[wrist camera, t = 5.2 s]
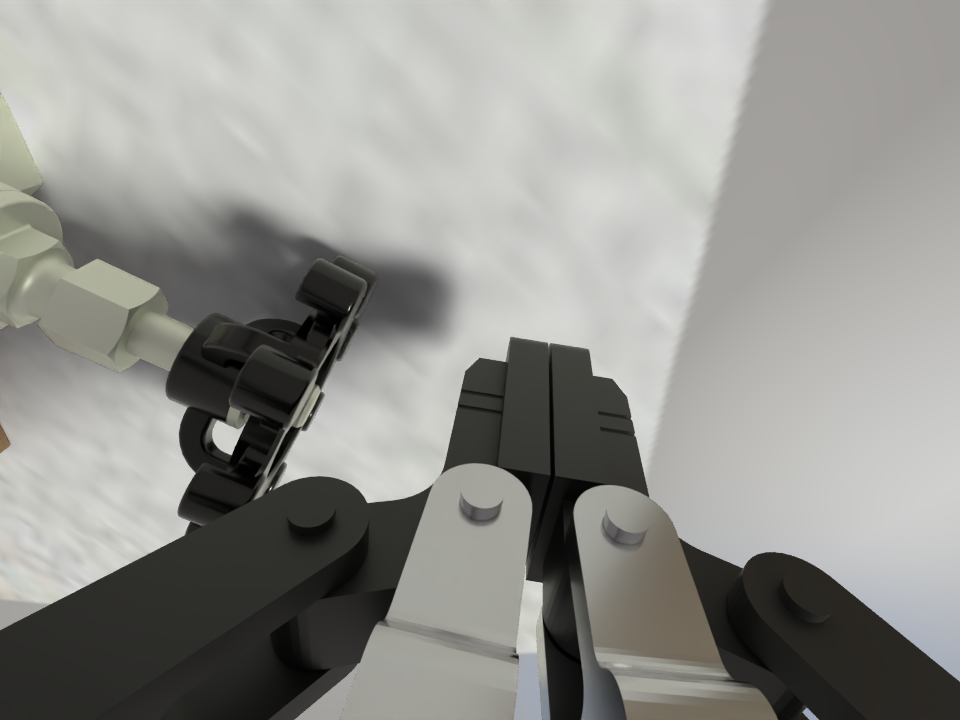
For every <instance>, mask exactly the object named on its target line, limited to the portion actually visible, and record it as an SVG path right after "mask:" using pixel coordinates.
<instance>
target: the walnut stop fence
mask: <svg viewBox="0 0 960 720" xmlns="http://www.w3.org/2000/svg"><path fill="white" fill-rule="evenodd" d="M9 446H10V443H9V441H8V439H7V437H6V435H5V433H4V431H3V429H2V427H1V425H0V453H1V452H3V451H4V450H5V449H6V448H8V447H9Z"/></svg>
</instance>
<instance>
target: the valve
mask: <svg viewBox="0 0 960 720" xmlns="http://www.w3.org/2000/svg"><path fill="white" fill-rule="evenodd" d="M42 184H43V183H42V179H41V175H40V172H39V170H38V168H37V166H36V164H35V161H34V159H33V157H32V155H31V153H30V151H29V149H28V146H27V144H26V142H25V140H24V138H23V136H22V134H21V131H20V129H19V127H18V125H17V123H16V121H15V119H14V117H13V114H12V112H11V110H10V108H9V106H8V104H7V102H6V100H5V99H4V98H3V96H2V95H1V93H0V329H2V328H4V327H6V326H8V325H10V326H12V327H15V328H20V327H22V326H25V325H28V324H30V323H33V322H35V321H37V320H39V319H41V320H40V322H39V324H38V326H39V327H40V328H41V329H42V330H43V332H44V333H45V334H46V335H47V336H48V337H49V338H50V340H51V341H52V342H53V343H54V344H55V345H56V346H58V347H61V348H63V349H65V350H68V351H70V352H72V353H75V354H77V355H79V356H81V357H84V358H86V359H88V360H91V361H93V362H95V363H98V364H100V365H102V366H104V367H107V368H109V369H111V370H114V371H116V372H118V373H119V372H121V371H123V370H125V369H127V368H129V367H131V366H132V365H134V364H135V363H136V362H138V361H139V360H140V359H142V360H145V361H147V362H149V363H151V364H154V365H156V366H158V367H161V368H163V369H165V370H167V371H169V375H168V378H167V382H166V396H167V397H168V398H169V399H170V400H172V401H174V402H176V403H179V404H181V405H183V406H186V407H188V408H187V410H186V412H185V414H184V416H183V419H182V421H181V424H180V431H179V442H180V447H181V451H182V454H183V456H184V458H185V460H186V461H187V463H188V465H189V466H190V467H191V468H192V470H193V471H194V472H196V474H195V475H194V477H193V479H192V480H191V482H190V484H189V485H188V487H187V489H186V491H185V493H184V495H183V497H182V499H181V502H180V504H179V507H178V516H179V517H181V518H183V519H186V520H188V521H190V523H189V526H188V528H187V530H186V533H185V535H187V534H189V533H191V532H193V531H195V530H197V529H198V528H200V527H202V526H204V525H206V524H208V523H210V522H212V521H214V520H216V519H218V518H220V517H222V516H224V515H226V514H228V513H230V512H232V511H234V510H235V509H237V508H239V507H241V506H243V505H245V504H247V503H249V502H251V501H253V500H255V499H257V498H259V497H261V496H263V495H265V494H267V493H269V492H270V491H272V490H274V489H276V488H277V486H278V484H279V483H280V481H281V479H282V476H283V474H284V472H285V470H286V467H287V464H286V463H285V460H286V457H287V455H288V453H289V452H290V450H291V448H292V446H293V444H294V442H295V440H296V439H297V437H298V435H299V433H300V431H307V430H308V428H309V427H310V425H311V423H312V421H313V419H314V418H315V416H316V414H317V412H318V410H319V408H320V406H321V404H322V401H323V399H324V396H325V395H324V393H323V392H321V391H322V389H323V386H324V384H325V382H326V380H327V378H328V376H329V374H330V372H331V370H332V368H333V366H334V365H335V363H336V361H341V360H342V359H343V357H344V355H345V354H346V352H347V350H348V348H349V346H350V344H351V342H352V340H353V338H354V336H355V334H356V332H357V329H358V327H359V324H358V322H356V321H354V318H358V317H359V316H360V315H361V313H362V311H363V310H364V308H365V306H366V304H367V302H368V300H369V298H370V296H371V294H372V292H373V290H374V288H375V285H376V283H377V280H378V275H377V274H376V273H375V272H373V271H371V270H369V269H367V268H365V267H363V266H361V265H359V264H357V263H355V262H353V261H351V260H349V259H347V258H345V257H343V256H341V255H338V256H337V257H336V258H335V259H334V260H333V262H332V263H330V262H328V261H326V260H324V259H322V258H319V259H317V260H316V261H315V262H314V263H313V264H312V265H311V267H310V268H309V270H308V271H307V273H306V275H305V276H304V278H303V280H302V282H301V284H300V286H299V288H298V291H297V293H296V296H295V299H296V300H297V301H299V302H301V303H303V304H306V305H308V306H310V307H312V308H314V310H313V311H312V312H311V313H310V315H309V316H308V317H307V319H306V320H305V321H304V323H303V324H302V325H300V324H297V323H294V322H291V321H287V320H282V319H260V320H256V321H253V322H250V323H248V324H246V325H243V324H241V323H239V322H237V321H235V320H233V319H230V318H228V317H226V316H224V315H222V314H220V313H214V314H211V315H209V316H208V317H206V318H205V319H204V320H202V321H201V322H200V323H199V324H198V325H197V326H196V328H193V327H190V326H188V325H186V324H184V323H182V322H180V321H177V320H175V319H173V318H171V317H169V316H167V312H168V301H167V299H166V297H165V295H164V293H163V292H162V290H161V289H160V288H159V287H157V286H155V285H153V284H151V283H148V282H146V281H144V280H142V279H140V278H138V277H136V276H134V275H131V274H129V273H127V272H125V271H123V270H121V269H119V268H117V267H114V266H112V265H110V264H108V263H106V262H104V261H102V260H99V259H95V260H93V261H92V262H90V263H88V264H86V265H84V266H82V267H80V268H79V269H75V268H74V262H73V259H72V257H71V255H70V254H69V252H68V251H67V249H66V248H65V247H64V246H63V232H62V228H61V224H60V220H59V219H58V217H57V216H56V214H55V212H54V211H53V209H51V208H50V207H49V206H48V205H47V204H45V203H44V202H42V201H40V200H38V199H36V198H34V197H32V196H31V195H32V194H33V193H34V192H35V191H36V190H37V189H38V188H39V187H40V186H41V185H42ZM217 420H218V421H220V422H223V423H225V424H227V425H229V426H232V427H234V428H236V429H240V428H241V427H242V426H243V425H244V424H245V423H246V425H245V427H244V429H243V431H242V433H241V435H240V437H239V440H238V442H237V444H236V446H235V449H234V451H233V454H232V455H229V454H227V453H225V452H223V451H221V450H220V449H218V448H217V446H216V445H215V443H214V442H213V438H212V430H213V427H214V425H215V423H216V421H217Z"/></svg>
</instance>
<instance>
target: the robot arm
mask: <svg viewBox="0 0 960 720" xmlns="http://www.w3.org/2000/svg"><path fill="white" fill-rule="evenodd" d="M634 433H635V431H634V427H633V422H632V420H631V413H630V409H629V404H628V400H627V397H626V395H625V394H624V393H623V392H622V390H621V389H620V388H619V387H618V385H617V384H616V383H615V382H614V381H613V379H609V378H603V377H597V376H593V374H592V367H591V359H590V353H589V350H588V349H584V348H578V347H572V346H565V345H559V344H553V343H550V345H549V348H548V343H546V342H539V341H533V340H527V339H521V338H514V337H510V342H509V347H508V352H507V358H506V362H502V361H496V360H489V359H483V358H479V359H478V360H477V361H476V362H475V363H474V364H473V365H472V366H471V367H470V368H468V369H467V370H466V371H465V375H464V380H463V384H462V389H461V393H460V398H459V402H458V408H457V411H456V416H455V420H454V425H453V429H452V434H451V439H450V443H449V448H448V452H447V457H446V461H445V465H444V468H443V471H442V473H441V475H440V476H439V477H438V478H437V480H436V481H435V482H434V484H432V485H431V486H430V487H429V488H427V489H426V490H424V491H423V492H421V493H419V494H416V495H414V496H411V497H408V498H405V499H399V500H393V501H384V502H374V503H367V502H366V500H365V498H364V496H363V495H362V494H361V493H360V491H359V490H357V489H356V488H355V487H354V486H352V485H351V484H349V483H347V482H345V481H342V480H339V479H336V478H331V477H321V476H318V477H307V478H301V479H298V480H294V481H291V482H289V483H287V484H284V485H282V486H280V487H278V488H276V489H274V490H272V491H270V492H269V493H267V494H265V495H263V496H261V497H259V498H257V499H255V500H253V501H251V502H249V503H247V504H245V505H243V506H241V507H239V508H237V509H235V510H234V511H232V512H230V513H228V514H226V515H224V516H222V517H220V518H218V519H216V520H214V521H212V522H210V523H208V524H206V525H204V526H202V527H200V528H198V529H197V530H195V531H193V532H191V533H189V534H187V535H185V536H183V537H181V538H179V539H177V540H175V541H173V542H171V543H169V544H167V545H165V546H163V547H161V548H160V549H158V550H156V551H154V552H152V553H150V554H148V555H146V556H144V557H142V558H140V559H138V560H136V561H134V562H132V563H130V564H128V565H126V566H125V567H123V568H121V569H119V570H117V571H115V572H113V573H111V574H109V575H107V576H105V577H103V578H101V579H99V580H97V581H95V582H93V583H91V584H89V585H88V586H86V587H84V588H82V589H80V590H78V591H76V592H74V593H72V594H70V595H68V596H66V597H64V598H62V599H60V600H58V601H56V602H54V603H52V604H51V605H49V606H47V607H45V608H43V609H41V610H39V611H37V612H35V613H33V614H31V615H29V616H27V617H25V618H23V619H21V620H19V621H17V622H15V623H14V624H12V625H10V626H8V627H6V628H4V629H2V630H0V720H294V719H295V718H297V717H298V716H299V715H300V714H301V713H303V712H304V711H305V710H306V709H307V708H309V707H310V706H311V705H312V704H313V703H315V702H316V701H317V700H318V699H319V698H321V697H322V696H323V695H324V694H325V693H327V692H328V691H329V690H330V689H331V688H332V687H334V686H335V685H336V684H337V683H339V682H340V681H341V680H342V679H343V678H345V677H346V676H347V675H348V674H349V673H350V672H351V671H352V670H353V669H354V668H355V667H356V665H357V664H358V663H360V664H359V667H358V670H357V673H356V675H355V678H354V681H353V684H352V686H351V689H350V692H349V695H348V698H347V700H346V703H345V706H344V708H343V711H342V714H341V717H340V720H514V712H515V703H516V694H517V684H518V673H519V655H518V654H516V642H517V633H518V625H519V616H520V608H521V600H522V591H523V583H524V575H525V566H526V580H529V581H535V582H541V583H543V605H542V608H541V611H540V614H539V618H538V621H537V626H536V638H537V654H538V668H539V684H540V700H541V715H542V720H809V719H808V718H807V717H806V716H805V715H804V714H803V713H802V712H803V711H804V710H805V709H806V708H808V709H809V710H810V711H811V712H812V713H813V714H814V715H815V716H816V717H817V718H818V719H819V720H960V682H959V681H958V680H957V679H956V678H954V677H953V676H952V675H951V674H949V673H948V672H947V671H946V670H944V669H943V668H942V667H941V666H940V665H938V664H937V663H936V662H935V661H933V660H932V659H931V658H930V657H929V656H927V655H926V654H925V653H924V652H922V651H921V650H920V649H919V648H918V647H916V646H915V645H914V644H913V643H911V642H910V641H909V640H907V639H906V638H905V637H904V636H903V635H902V634H900V633H899V632H898V631H897V630H895V629H894V628H893V627H892V626H890V625H889V624H888V623H887V622H886V621H884V620H883V619H882V618H881V617H879V616H878V615H877V614H876V613H875V612H873V611H872V610H871V609H870V608H868V607H867V606H866V605H865V604H863V603H862V602H861V601H860V600H859V599H857V598H856V597H855V596H854V595H852V594H851V593H850V592H849V591H847V590H846V589H845V588H844V587H843V586H841V585H840V584H839V583H838V582H836V581H835V580H834V579H833V578H832V577H830V576H829V575H827V574H826V573H825V572H823V571H822V570H820V569H819V568H817V567H815V566H814V565H812V564H810V563H808V562H806V561H804V560H802V559H800V558H797V557H794V556H791V555H787V554H783V553H776V552H766V553H762V554H758V555H756V556H754V557H752V558H751V559H750V560H749V561H748V562H747V563H746V565H745V567H744V568H740V567H738V566H736V565H733V564H731V563H729V562H727V561H724V560H722V559H720V558H717V557H715V556H713V555H710V554H708V553H706V552H703V551H701V550H699V549H697V548H695V547H693V546H691V545H689V544H688V543H686V542H685V541H683V540H682V539H680V538H679V537H678V535H677V532H676V529H675V527H674V525H673V522H672V521H671V519H670V518H669V516H668V515H667V514H666V512H665V511H664V510H663V509H662V508H661V507H660V506H659V505H658V504H657V503H655V502H654V501H653V500H651V499H650V498H649V494H648V489H647V485H646V481H645V476H644V472H643V467H642V463H641V458H640V454H639V449H638V445H637V440H636V437H635V436H634ZM526 562H527V563H526Z"/></svg>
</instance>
